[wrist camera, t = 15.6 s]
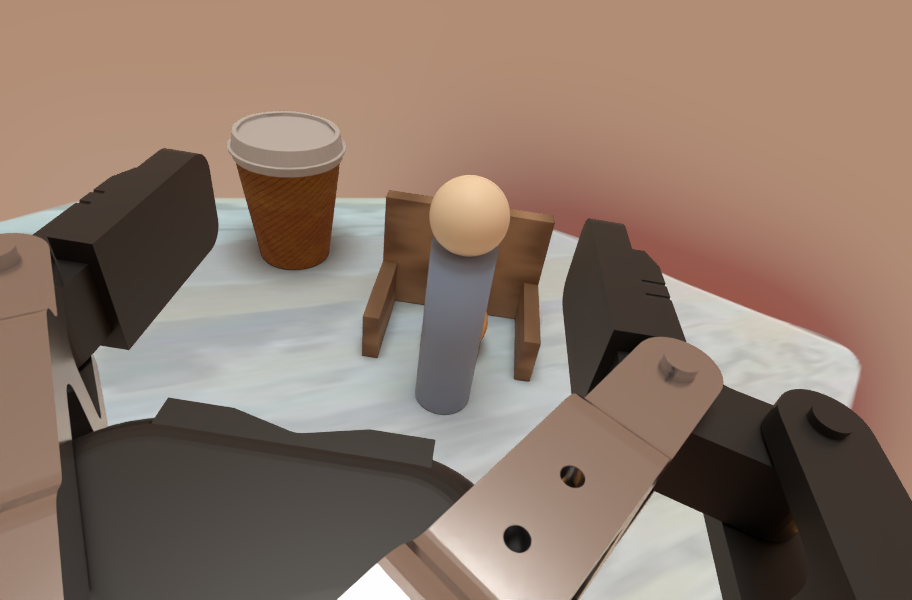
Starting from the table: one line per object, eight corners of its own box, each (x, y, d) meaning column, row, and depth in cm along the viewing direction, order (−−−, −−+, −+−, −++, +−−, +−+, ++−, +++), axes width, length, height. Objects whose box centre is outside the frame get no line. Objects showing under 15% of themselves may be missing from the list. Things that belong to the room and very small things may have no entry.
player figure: (406, 412, 38) (427, 192, 28) (416, 366, 42) (438, 156, 31) (470, 422, 38) (516, 205, 28) (474, 375, 42) (517, 168, 31)
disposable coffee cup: (221, 248, 51) (200, 123, 43) (303, 215, 57) (296, 102, 50) (286, 294, 47) (275, 165, 39) (366, 253, 53) (369, 135, 46)
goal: (362, 355, 42) (364, 247, 36) (384, 290, 49) (389, 190, 43) (529, 381, 42) (560, 278, 36) (528, 312, 49) (553, 215, 43)
